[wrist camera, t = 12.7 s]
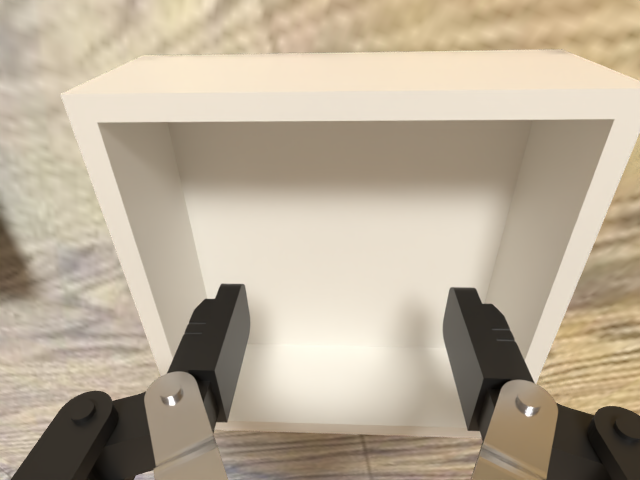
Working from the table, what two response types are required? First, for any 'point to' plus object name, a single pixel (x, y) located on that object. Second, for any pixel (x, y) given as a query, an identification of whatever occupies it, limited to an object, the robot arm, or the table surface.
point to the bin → (354, 212)
